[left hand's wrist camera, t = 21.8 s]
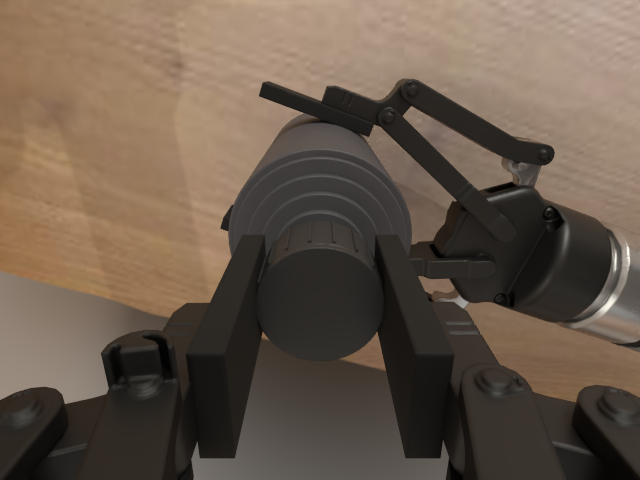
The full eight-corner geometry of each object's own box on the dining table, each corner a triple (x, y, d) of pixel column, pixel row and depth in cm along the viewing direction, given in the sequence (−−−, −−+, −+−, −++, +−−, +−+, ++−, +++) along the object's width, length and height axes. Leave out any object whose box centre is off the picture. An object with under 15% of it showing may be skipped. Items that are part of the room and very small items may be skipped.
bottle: (363, 212, 34) (421, 399, 15) (269, 205, 34) (201, 386, 14) (374, 115, 31) (464, 186, 12) (272, 107, 31) (194, 166, 12)
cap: (321, 340, 16) (321, 384, 13) (239, 273, 15) (225, 309, 12) (400, 271, 15) (414, 306, 12) (318, 194, 14) (317, 218, 11)
